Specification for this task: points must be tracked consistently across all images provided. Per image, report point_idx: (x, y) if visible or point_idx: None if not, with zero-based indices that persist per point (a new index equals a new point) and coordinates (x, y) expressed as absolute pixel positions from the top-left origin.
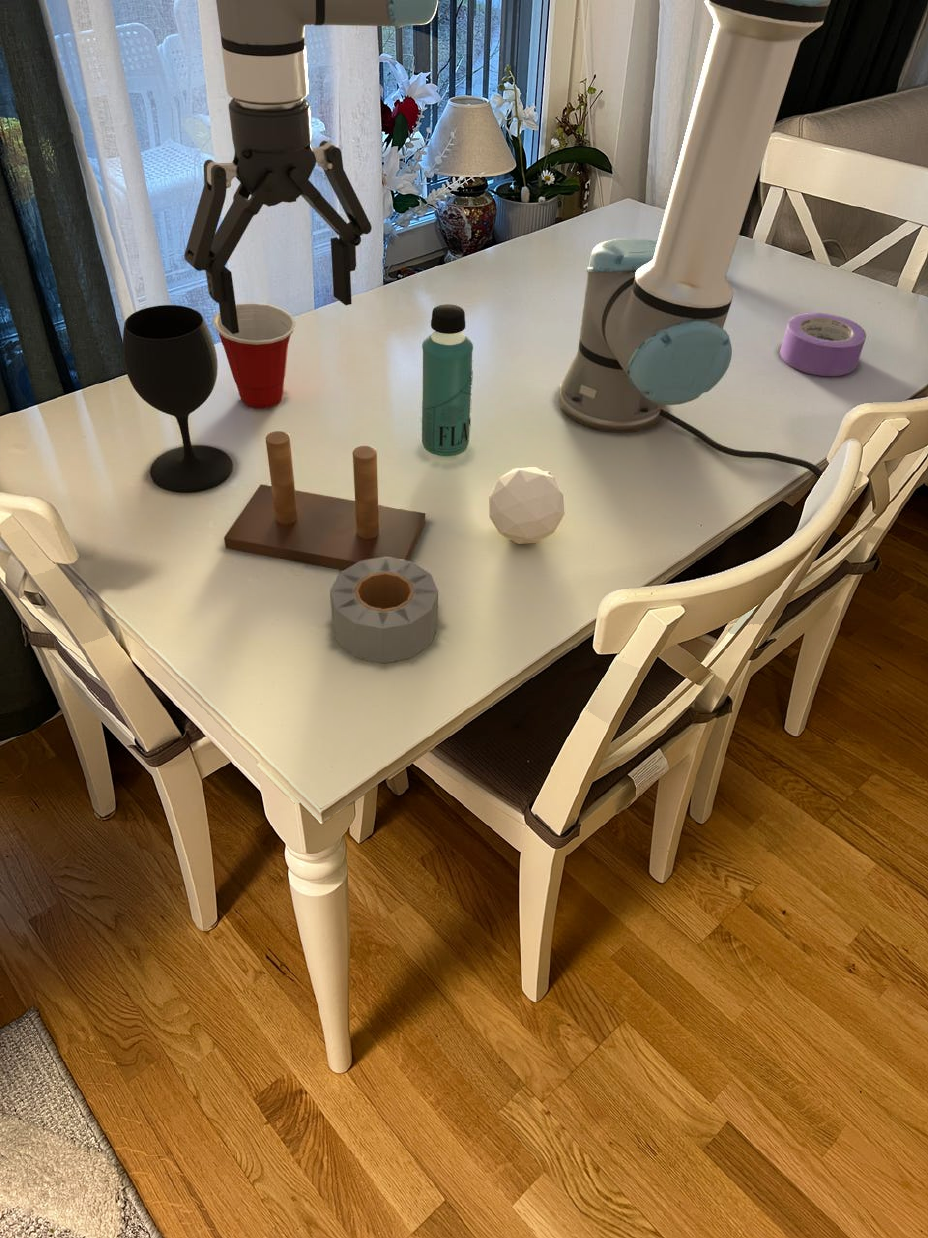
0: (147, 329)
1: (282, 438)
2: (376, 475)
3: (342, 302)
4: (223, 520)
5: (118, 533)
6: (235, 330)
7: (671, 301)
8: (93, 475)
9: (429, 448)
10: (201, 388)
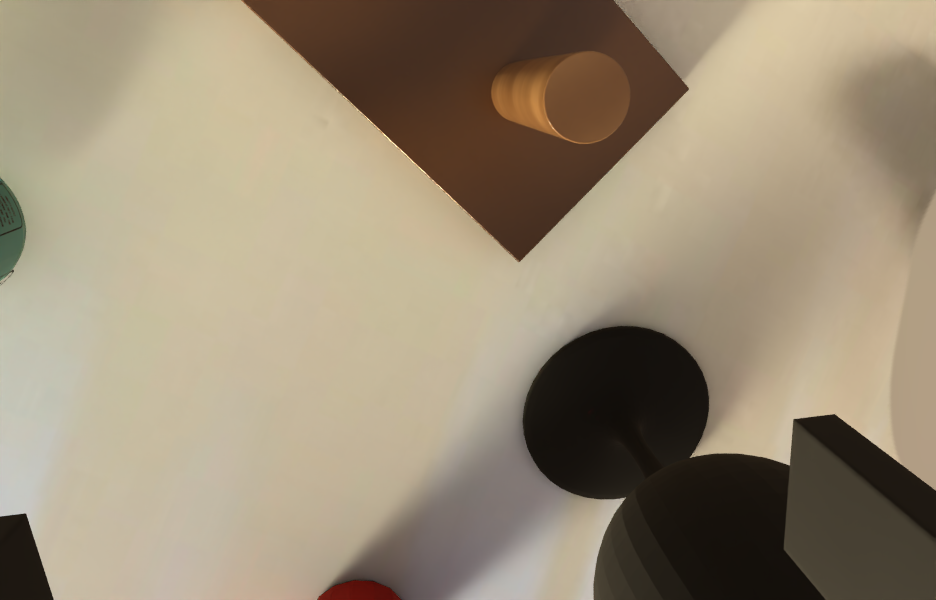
0: None
1: (574, 83)
2: None
3: (36, 552)
4: (634, 197)
5: (843, 256)
6: (827, 423)
7: None
8: None
9: (11, 196)
10: (698, 473)
